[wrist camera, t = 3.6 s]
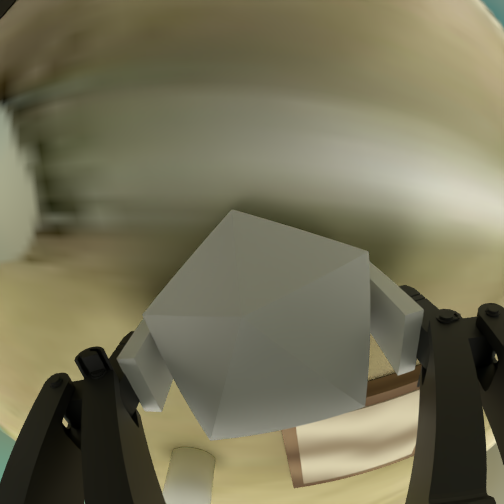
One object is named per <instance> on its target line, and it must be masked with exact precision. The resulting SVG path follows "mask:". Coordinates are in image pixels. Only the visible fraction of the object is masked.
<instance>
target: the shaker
mask: <svg viewBox="0 0 504 504" xmlns="http://www.w3.org/2000/svg"><path fill="white" fill-rule="evenodd" d="M214 468H215V458H214V457H213V456H212V455H211V454H209V453H208V452H206V451H203V450H200V449H196V448H190V447H181V448H177V449H175V450H173V452H172V455H171V459H170V463H169V468H168V472H167V476H166V480H165V485H164V489H163V493H162V494H163V497H164V500H165V502H166V504H211V496H212V487H213V478H214Z"/></svg>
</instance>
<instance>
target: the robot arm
mask: <svg viewBox="0 0 504 504" xmlns="http://www.w3.org/2000/svg"><path fill="white" fill-rule="evenodd" d="M14 1H15V0H0V17H1V16H2V15H3V14H4V13H5V12H6V10H7V9H8V8H9V7H10V6H11V5H12V3H13V2H14ZM369 267H370V333H371V334H372V336H373V337H374V339H375V340H376V342H377V344H378V345H379V347H380V348H381V350H382V351H383V353H384V355H385V356H386V358H387V359H388V361H389V362H390V364H391V366H392V367H393V369H394V370H395V372H396V374H397V375H401V374H404V373H407V372H410V371H413V370H415V365H416V360H417V359H418V360H419V362H420V363H421V364H422V366H421V370H420V375H419V379H418V383H417V387H419V386H420V396H419V415H418V428H417V438H416V447H415V454H414V461H413V468H412V474H411V479H410V484H409V489H408V494H407V498H406V503H405V504H496V502H495V500H494V498H493V497H491V496H488V495H487V493H486V472H487V467H486V439H485V427H484V417H483V409H484V411H485V414H486V416H487V419H488V421H489V424H490V426H491V429H492V432H493V434H494V437H495V440H496V443H497V445H498V449H499V452H500V454H501V458H502V461H503V464H504V308H503V307H502V306H500V305H497V304H495V303H487V304H483V305H481V306H480V307H479V308H478V314H477V317H471V318H462V317H461V315H460V314H459V313H457V312H456V311H453V310H450V309H440V310H439V309H438V308H437V307H436V306H434V305H433V304H432V303H431V302H430V301H429V300H427V299H425V297H424V296H423V295H422V294H421V295H420V293H419V292H418V291H417V290H416V289H414V288H412V287H409V286H407V285H403V286H397V285H396V284H395V283H394V282H393V281H392V280H391V279H390V278H388V277H387V276H386V275H385V274H384V273H383V272H382V271H380V270H379V269H378V268H377V267H376V266H375V265H373V264H372V263H371V262H370V261H369ZM495 354H497V357H498V361H497V360H496V359H495ZM75 362H76V364H77V366H78V368H79V370H80V371H81V373H82V375H83V377H84V380H80V381H74V382H72V381H71V379H70V377H69V376H68V374H66V373H58V374H54V375H52V376H51V377H50V378H49V379H47V381H46V382H45V384H44V385H43V387H42V389H41V391H40V393H39V395H38V397H37V399H36V400H35V402H34V404H33V406H32V408H31V410H30V412H29V414H28V416H27V419H26V421H25V423H24V425H23V427H22V429H21V431H20V434H19V436H18V438H17V440H16V443H15V445H14V448H13V450H12V452H11V455H10V458H9V460H8V462H7V465H6V468H5V471H4V473H3V477H2V479H1V482H0V504H84V500H85V504H166V502H165V500H164V497H163V494H162V491H161V488H160V485H159V482H158V479H157V476H156V473H155V470H154V466H153V463H152V460H151V456H150V453H149V449H148V445H147V441H146V438H145V434H144V429H143V425H142V421H141V416H140V414H139V412H138V411H137V409H136V408H137V406H138V403H139V402H140V403H141V405H142V407H143V409H144V410H145V411H156V412H162V410H163V407H164V404H165V401H166V398H167V395H168V392H169V389H170V386H171V383H172V380H173V377H172V375H171V373H170V371H169V369H168V367H167V365H166V364H165V362H164V360H163V358H162V356H161V354H160V352H159V350H158V347H157V345H156V343H155V341H154V339H153V337H152V335H151V333H150V331H149V328H148V326H147V324H146V322H145V319H144V318H143V320H142V321H141V322H140V324H139V325H138V327H137V328H136V330H135V331H131V332H130V333H129V334H127V335H126V336H125V337H124V338H123V339H122V341H121V342H120V343H119V345H118V346H117V348H116V350H115V351H114V352H113V354H112V355H111V357H110V358H109V359H108V357H107V355H106V353H105V351H104V349H103V348H102V347H90V348H88V349H85V350H84V351H82V352H80V353H79V354H78V355H77V356H76V358H75ZM482 407H483V409H482ZM63 417H64V418H65V420H66V421H67V422H68V426H67V428H66V427H65V426H64V425H63V423H62V420H63Z"/></svg>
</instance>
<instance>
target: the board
mask: <svg viewBox="0 0 504 504" xmlns="http://www.w3.org/2000/svg"><path fill="white" fill-rule="evenodd" d="M421 366H422V364H420V365H417V366H415V370H413V371H410V372H407V373H404V374H401V375H397V374H396V373H394V374H391V375H388V376H384V377H381V378H378V379H374V380H371V381H367V392H366V402H365V407H363V408H360V409H357V410H354V411H351V412H348V413H345V414H341V415H338V416H335V417H331V418H328V419H324V420H321V421H317V422H313V423H309V424H305V425H301V426H297V427H293V428H288V429H284V430H282V435H283V440H284V444H285V449H286V454H287V458H288V463H289V468H290V472H291V477H292V482H293V486H294V488H298V487H305V486H310V485H316V484H321V483H326V482H331V481H335V480H340V479H344V478H348V477H352V476H355V475H359V474H363V473H366V472H369V471H373V470H376V469H379V468H382V467H385V466H388V465H391V464H393V463H396V462H399V461H402V460H404V459H407V458H409V457H412V456H414V454H415V447H416V438H417V428H418V415H419V396H420V386H419V387H417V383H418V379H419V375H420V370H421Z"/></svg>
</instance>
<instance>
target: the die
mask: <svg viewBox="0 0 504 504" xmlns="http://www.w3.org/2000/svg"><path fill="white" fill-rule="evenodd" d="M142 315H143V317H144V319H145V322H146V324H147V326H148V328H149V331H150V333H151V335H152V337H153V339H154V341H155V343H156V345H157V347H158V350H159V352H160V354H161V356H162V358H163V360H164V362H165V364H166V365H167V367H168V369H169V371H170V373H171V375H172V377H173V379H174V381H175V382H176V384H177V386H178V388H179V390H180V392H181V393H182V395H183V397H184V399H185V400H186V402H187V404H188V405H189V407H190V409H191V411H192V412H193V414H194V416H195V417H196V419H197V420H198V422H199V424H200V425H201V427H202V428H203V430H204V432H205V433H206V435H207V436H208V438H209V439H210V440H220V439H229V438H237V437H244V436H251V435H257V434H263V433H268V432H274V431H279V430H284V429H288V428H293V427H297V426H301V425H305V424H309V423H313V422H317V421H321V420H324V419H328V418H331V417H335V416H338V415H341V414H345V413H348V412H351V411H354V410H357V409H360V408H363V407H365V402H366V392H367V381H368V368H369V350H370V267H369V251H366V250H363V249H360V248H357V247H354V246H351V245H348V244H345V243H342V242H338V241H335V240H332V239H329V238H326V237H323V236H320V235H316V234H313V233H310V232H307V231H304V230H300V229H297V228H294V227H291V226H287V225H284V224H281V223H277V222H274V221H271V220H267V219H264V218H260V217H257V216H254V215H250V214H247V213H243V212H240V211H236V210H233V209H232V210H231V211H230V212H229V213H228V214H227V215H226V216H225V217H224V219H223V220H222V221H221V222H220V223H219V224H218V225H217V226H216V228H215V229H214V230H213V231H212V232H211V233H210V234H209V236H208V237H207V238H206V239H205V240H204V241H203V242H202V244H201V245H200V246H199V247H198V248H197V249H196V251H195V252H194V253H193V254H192V255H191V256H190V258H189V259H188V260H187V261H186V262H185V263H184V265H183V266H182V267H181V268H180V269H179V271H178V272H177V273H176V274H175V275H174V276H173V278H172V279H171V280H170V281H169V282H168V284H167V285H166V286H165V287H164V289H163V290H162V291H161V292H160V293H159V295H158V296H157V297H156V298H155V299H154V301H153V302H152V303H151V304H150V306H149V307H148V308H147V309H146V311H145V312H144V313H143V314H142Z"/></svg>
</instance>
